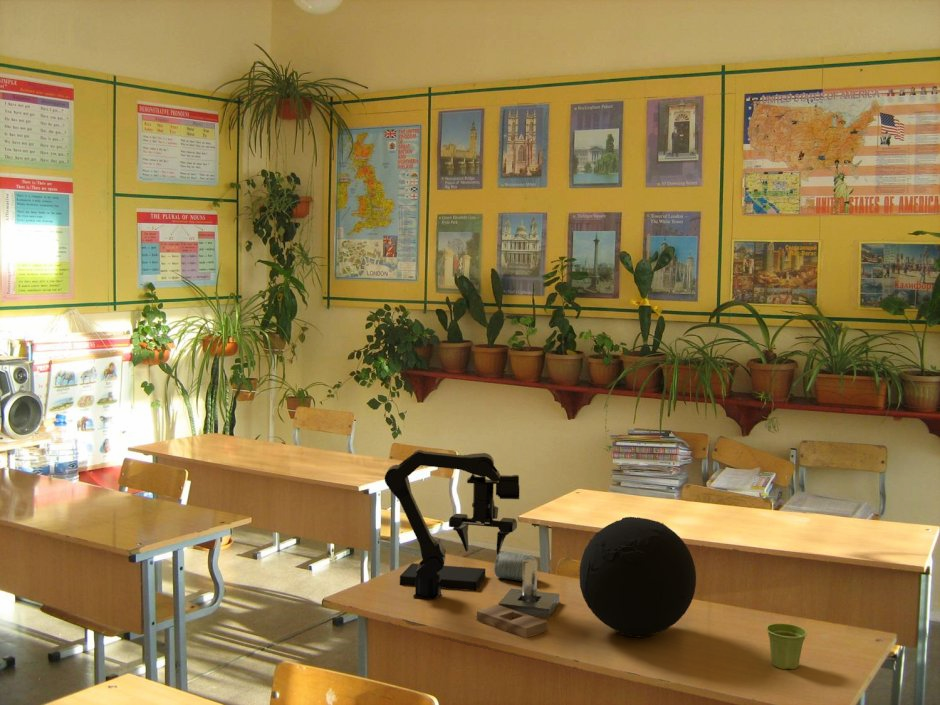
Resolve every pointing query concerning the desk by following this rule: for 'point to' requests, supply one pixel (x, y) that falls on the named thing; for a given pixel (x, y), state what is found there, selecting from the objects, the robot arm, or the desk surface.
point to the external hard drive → (449, 577)
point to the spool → (510, 565)
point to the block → (531, 603)
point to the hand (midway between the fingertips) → (482, 552)
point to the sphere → (637, 576)
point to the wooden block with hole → (511, 621)
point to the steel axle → (529, 580)
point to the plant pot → (786, 644)
